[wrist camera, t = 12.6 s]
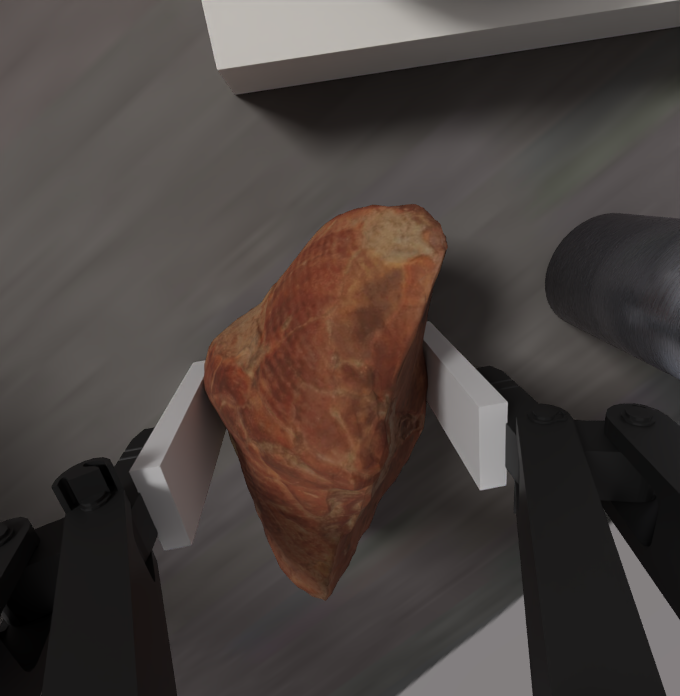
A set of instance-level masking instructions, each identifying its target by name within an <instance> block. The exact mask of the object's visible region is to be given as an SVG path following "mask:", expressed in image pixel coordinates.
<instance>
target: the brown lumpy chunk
mask: <svg viewBox="0 0 680 696" xmlns="http://www.w3.org/2000/svg"><path fill="white" fill-rule="evenodd" d="M447 248H448V246H447V242H446V236H445V235H444V233H443V231H442V228H441V224H440V223H439V222H438V221H436V220H435V219H434V218H433V217H432V216H431V215H430V214H429V213H428V212H427V211H426V210H425V209H424V208H422V207H420V206H418V205H416V204H409V205H401V206H391V207H386V206H380V205H370V206H367V207H362V208H357V209H354V210H351V211H348V212H346V213H344V214H340V215H338V216H336V217H335V218H333V219H332V220H330V221H329V222H327V223H326V224H325V225H323V226H322V227H321V228H320V229H319V230H318V231H317V232H316V234H315V235H314V236H313V237H312V238H311V240H310V241H309V242H308V243H307V244H306V246H305V247H304V248H303V250H302V251H301V252H300V254H299V255H298V256H297V257H296V259H295V260H294V261H293V262H292V263H291V265H290V266H289V268H288V269H287V270H286V272H285V273H284V274H283V275H282V276H281V277H280V279H279V280H278V281H277V283H275V284H274V285H273V286H272V288H271V289H270V290H269V292H268V293H267V295H266V296H265V298H264V299H263V301H262V302H261V303H260V304H259V305H258V306H256V307H255V308H253V309H251V310H250V311H249V312H248V313H246V314H244V315H243V316H241V317H239V318H238V319H237V320H235V321H234V322H233V323H232V324H231V325H230V326H228V327H227V328H226V329H225V330H224V331H223V332H221V333H220V334H219V335H218V336H217V337H216V338H215V339H214V340H213V342H212V343H211V345H210V346H209V349H208V353H207V357H206V360H205V363H204V385H205V391H206V393H207V395H208V398H209V400H210V402H211V404H212V405H213V407H214V408H215V409H216V411H217V413H218V414H219V416H220V418H221V420H222V422H223V423H224V425H225V427H226V428H227V430H228V433H229V436H230V440H231V442H232V444H233V447H234V449H235V452H236V454H237V456H238V458H239V461H240V464H241V468H242V472H243V474H244V478H245V481H246V484H247V487H248V489H249V492H250V494H251V496H252V498H253V500H254V504H255V508H256V511H257V514H258V516H259V518H260V519H261V521H262V524H263V527H264V531H265V535H266V537H267V540H268V542H269V544H270V546H271V548H272V550H273V553H274V555H275V557H276V559H277V562H278V564H279V566H280V568H281V569H282V570H283V572H284V573H285V574H286V575H287V576H288V578H289V579H290V580H291V581H292V582H293V583H294V584H295V585H296V586H297V587H298V588H300V589H302V590H304V591H306V592H307V593H309V594H310V595H311V596H313V597H316V598H320V599H323V600H325V601H326V600H327V599H328V597H329V596H330V595H331V594H332V592H333V590H334V588H335V586H336V584H337V582H338V581H339V579H340V577H341V576H342V575H343V573H344V572H345V570H346V569H347V567H348V566H349V563H350V561H351V558H352V556H353V555H354V553H355V551H356V548H357V544H358V541H359V540H360V538H361V536H362V535H363V533H364V532H365V531H366V530H367V529H368V528H369V526H370V524H371V521H372V519H373V516H374V513H375V510H376V507H377V504H378V503H379V501H380V499H381V498H382V496H383V495H384V493H385V492H386V491H387V490H388V488H389V487H390V486H391V485H392V484H393V483H394V481H395V480H396V478H397V477H398V475H399V473H400V472H401V469H402V467H403V466H404V465H405V463H406V462H407V461H408V459H409V457H410V454H411V452H412V450H413V448H414V446H415V443H416V441H417V440H418V438H419V436H420V434H421V432H422V430H423V428H424V422H425V414H426V396H427V389H428V375H427V368H426V363H425V358H424V354H423V338H424V332H425V327H426V322H427V316H428V309H429V305H430V301H431V297H432V292H433V287H434V283H435V281H436V278H437V276H438V274H439V272H440V269H441V266H442V263H443V260H444V257H445V253H446V250H447Z"/></svg>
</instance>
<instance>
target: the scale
mask: <svg viewBox="0 0 680 696" xmlns="http://www.w3.org/2000/svg"><path fill="white" fill-rule="evenodd" d="M202 5H203V9H204V14H205V18H206V22H207V27H208V31H209V36H210V40H211V45H212V49H213V53H214V58H215V62H216V67H217V70H218V72H219V73H220V75H221V76H222V77H223V79H224V80H225V82H226V83H227V85H228V86H229V87H230V89H231V90H232V92H233V93H234V95H237V94H244V93H250V92H257V91H263V90H270V89H276V88H283V87H289V86H296V85H302V84H309V83H316V82H322V81H329V80H335V79H342V78H348V77H355V76H361V75H368V74H374V73H381V72H387V71H394V70H400V69H407V68H413V67H420V66H426V65H433V64H439V63H446V62H452V61H459V60H465V59H472V58H478V57H485V56H491V55H498V54H504V53H511V52H517V51H524V50H530V49H537V48H543V47H550V46H556V45H563V44H569V43H576V42H582V41H589V40H595V39H602V38H608V37H615V36H621V35H628V34H634V33H641V32H647V31H654V30H660V29H667V28H673V27H680V0H202Z"/></svg>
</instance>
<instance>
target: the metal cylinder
mask: <svg viewBox="0 0 680 696" xmlns="http://www.w3.org/2000/svg"><path fill="white" fill-rule="evenodd" d="M545 291H546V297H547V300H548V303H549V305H550V307H551V309H552V310H553V311H554V313H555V314H556V315H557V316H558V317H559V318H561V319H562V320H564V321H566V322H568V323H570V324H571V325H573V326H575V327H577V328H579V329H581V330H583V331H585V332H587V333H589V334H591V335H593V336H595V337H597V338H599V339H601V340H603V341H605V342H607V343H609V344H611V345H613V346H615V347H617V348H619V349H621V350H623V351H625V352H626V353H628V354H630V355H632V356H634V357H636V358H638V359H640V360H642V361H644V362H646V363H648V364H650V365H652V366H654V367H656V368H658V369H660V370H662V371H664V372H666V373H668V374H670V375H672V376H674V377H676V378H678V379H679V380H680V219H678V218H667V217H655V216H644V215H632V214H621V213H610V214H603V215H599V216H596V217H593V218H591V219H589V220H587V221H585V222H583V223H582V224H580V225H579V226H577V227H576V228H575V229H573V230H572V231H571V232H570V233H569V234H568V235H567V236H566V237H565V238H564V239H563V240H562V242H561V243H560V244H559V246H558V247H557V249H556V250H555V252H554V254H553V256H552V258H551V260H550V263H549V265H548V268H547V273H546V279H545Z"/></svg>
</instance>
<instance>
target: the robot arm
mask: <svg viewBox="0 0 680 696" xmlns="http://www.w3.org/2000/svg"><path fill="white" fill-rule="evenodd" d="M423 354H424V358H425V363H426V368H427V375H428V389H427V396H426V401H427V402H428V404H429V406H430V407H431V409H432V411H433V412H434V414H435V416H436V418H437V419H438V421H439V423H440V424H441V426H442V428H443V429H444V431H445V433H446V434H447V436H448V438H449V439H450V441H451V443H452V444H453V446H454V448H455V449H456V451H457V453H458V454H459V456H460V458H461V459H462V461H463V463H464V464H465V466H466V468H467V469H468V471H469V473H470V474H471V476H472V478H473V480H474V481H475V483H476V485H477V486H478V488H479V490H485V489H490V488H495V487H501V486H506V475H507V470H508V471H509V472H510V474H511V475H512V477H513V478H514V479H515V485H514V513H516V516H517V527H518V538H519V549H520V560H521V571H522V582H523V593H524V604H525V614H526V626H527V636H528V647H529V658H530V669H531V680H532V691H533V696H666V693H665V690H664V687H663V685H662V682H661V678H660V675H659V672H658V670H657V667H656V664H655V661H654V658H653V655H652V652H651V649H650V646H649V643H648V640H647V637H646V634H645V631H644V628H643V625H642V622H641V619H640V616H639V613H638V610H637V607H636V604H635V602H634V599H633V596H632V593H631V590H630V587H629V584H628V581H627V578H626V575H625V572H624V569H623V566H622V563H621V560H620V557H619V554H618V551H617V548H616V545H615V542H614V539H613V537H612V533H611V531H610V528H609V525H608V522H607V519H606V516H605V513H604V510H605V511H606V513H607V514H608V516H609V517H610V519H611V520H612V522H613V523H614V525H615V526H616V527H617V529H618V530H619V532H620V533H621V535H622V536H623V538H624V539H625V540H626V542H627V543H628V545H629V546H630V548H631V549H632V551H633V552H634V554H635V555H636V557H637V558H638V559H639V561H640V562H641V564H642V565H643V567H644V568H645V569H646V571H647V572H648V574H649V576H650V577H651V578H652V580H653V581H654V583H655V584H656V586H657V587H658V589H659V590H660V591H661V593H662V594H663V596H664V597H665V599H666V600H667V602H668V603H669V605H670V606H671V608H672V609H673V610H674V612H675V613H676V615H677V616H678V618H679V619H680V426H679V425H678V424H677V423H676V422H674V421H673V420H672V419H671V418H669V417H668V416H667V415H665V414H664V413H662V412H660V411H659V410H656V409H654V408H651V407H648V406H645V405H641V404H640V405H639V404H619V405H614V406H612V407H610V408H609V409H607V412H606V418H605V421H581V420H573V418H572V417H571V416H570V414H569V413H568V412H566V411H565V410H563V409H561V408H559V407H556V406H553V405H547V404H538V403H537V402H536V401H535V400H534V399H533V398H532V397H531V396H529V395H528V394H527V393H526V392H525V391H524V390H523V389H522V388H521V387H520V386H519V387H518V385H517V384H516V383H515V382H514V381H513V380H511V378H510V377H509V376H507V375H506V374H505V373H504V372H503V371H501V370H499V369H496V368H494V367H491V366H486V367H481V368H474V367H473V366H472V365H471V363H470V362H469V361H468V360H467V359H466V358H465V357H464V356H463V355H462V354H461V353H460V352H459V351H458V350H457V349H456V348H455V347H454V346H453V345H452V344H451V343H450V342H449V341H448V340H447V339H446V338H445V337H444V336H443V335H442V334H441V333H440V331H439V330H438V329H437V328H436V327H435V326H434V325H433V324H432V323H431V322H430V321H427V322H426V327H425V332H424V338H423ZM204 363H205V361H199V362H193V364H192V365H191V367H190V369H189V370H188V372H187V374H186V376H185V377H184V379H183V381H182V382H181V384H180V386H179V387H178V389H177V391H176V393H175V394H174V396H173V398H172V399H171V401H170V403H169V404H168V406H167V408H166V410H165V411H164V413H163V415H162V416H161V418H160V420H159V421H158V423H157V425H156V427H154V428H149V429H144V430H143V431H142V432H141V433H139V434H138V435H137V436H136V437H135V438H133V439H132V441H131V442H130V444H129V445H128V447H127V448H126V450H125V452H124V453H123V454H122V456H121V457H120V461H118V462H117V464H116V465H115V467H113V464H112V462H111V461H110V459H107V458H104V457H103V458H93V459H90V460H87V461H83V462H81V463H79V464H77V465H75V466H73V467H71V468H70V469H68V470H67V471H65V472H64V473H62V474H61V475H60V476H59V477H58V478H57V479H56V480H55V481H54V483H53V485H52V489H53V491H54V493H55V495H56V497H57V498H58V500H59V502H60V504H61V506H62V507H63V509H64V511H65V513H66V515H65V518H62V519H60V520H58V521H55V522H52V523H50V524H47V525H45V526H42V527H39V528H37V529H34V528H33V527H32V525H31V523H30V522H29V520H28V519H27V518H22V517H19V518H13V519H9V520H6V521H4V522H1V523H0V616H2V617H3V619H4V620H3V622H2V623H1V625H0V696H40V694H41V691H42V695H41V696H177V691H176V685H175V678H174V671H173V665H172V658H171V651H170V645H169V638H168V631H167V625H166V618H165V611H164V605H163V598H162V591H161V584H160V578H159V571H158V564H157V560H156V558H155V556H154V553H153V551H152V548H153V545H154V543H155V540H156V538H157V536H158V538H159V540H160V542H161V545H162V547H163V549H164V551H166V550H171V549H176V548H182V547H187V546H192V544H193V540H194V537H195V533H196V530H197V527H198V523H199V520H200V516H201V513H202V510H203V506H204V503H205V499H206V496H207V492H208V489H209V486H210V482H211V479H212V475H213V472H214V469H215V465H216V462H217V458H218V455H219V451H220V448H221V445H222V441H223V438H224V434H225V431H226V427H225V425H224V423H223V422H222V420H221V418H220V416H219V414H218V413H217V411H216V409H215V408H214V407H213V405H212V404H211V402H210V400H209V398H208V395H207V393H206V391H205V385H204ZM603 508H604V510H603Z"/></svg>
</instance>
